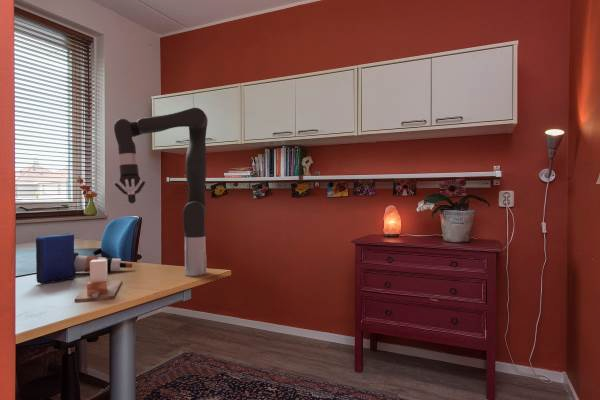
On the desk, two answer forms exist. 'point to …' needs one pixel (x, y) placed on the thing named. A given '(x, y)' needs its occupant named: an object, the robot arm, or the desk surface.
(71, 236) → the book
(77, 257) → the grey brown bottle
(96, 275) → the sleeve
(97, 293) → the rail board
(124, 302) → the desk surface
